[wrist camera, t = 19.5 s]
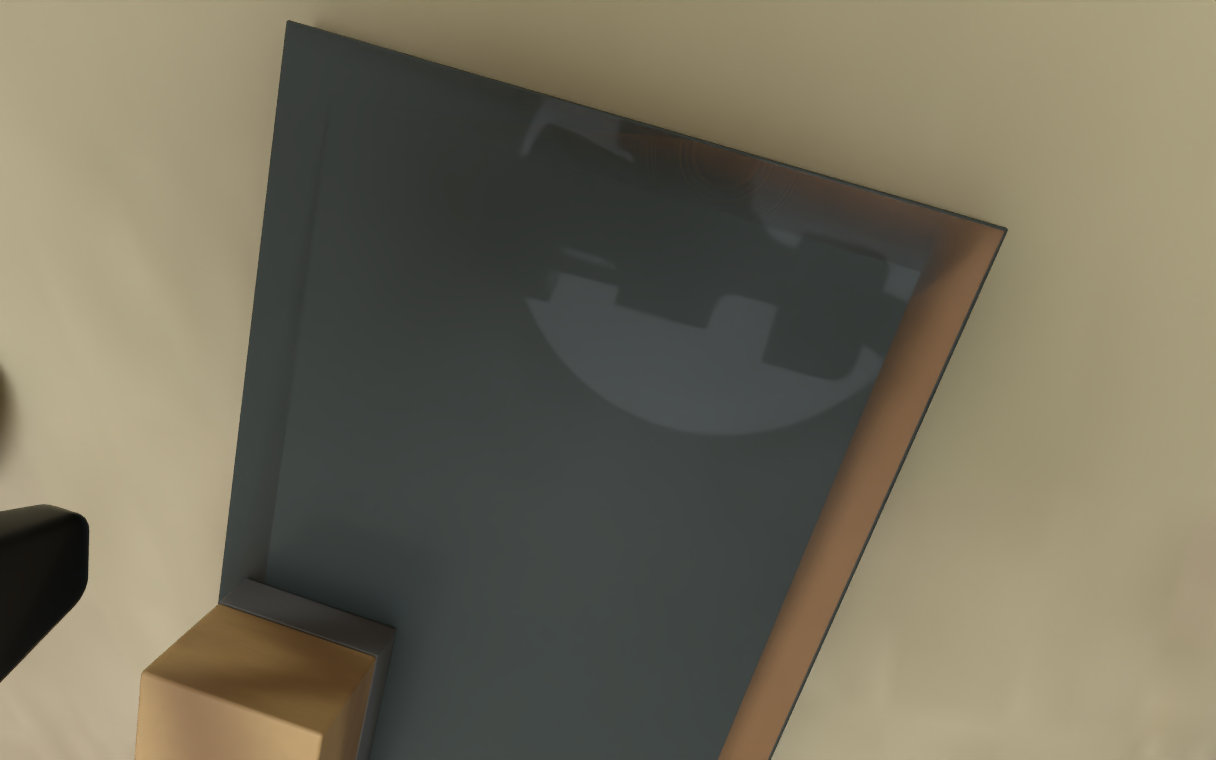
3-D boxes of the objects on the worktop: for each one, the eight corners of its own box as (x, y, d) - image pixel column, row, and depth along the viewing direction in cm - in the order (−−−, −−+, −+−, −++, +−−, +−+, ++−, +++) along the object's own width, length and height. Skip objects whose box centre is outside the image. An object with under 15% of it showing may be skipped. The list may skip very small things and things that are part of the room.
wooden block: (397, 628, 20) (322, 735, 17) (358, 812, 23) (284, 943, 19) (246, 577, 21) (139, 672, 17) (222, 764, 23) (123, 883, 19)
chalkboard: (992, 224, 16) (1010, 228, 15) (671, 954, 24) (668, 987, 23) (310, 26, 17) (285, 18, 16) (213, 789, 25) (192, 814, 24)
